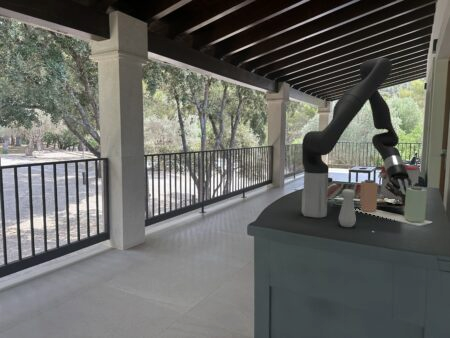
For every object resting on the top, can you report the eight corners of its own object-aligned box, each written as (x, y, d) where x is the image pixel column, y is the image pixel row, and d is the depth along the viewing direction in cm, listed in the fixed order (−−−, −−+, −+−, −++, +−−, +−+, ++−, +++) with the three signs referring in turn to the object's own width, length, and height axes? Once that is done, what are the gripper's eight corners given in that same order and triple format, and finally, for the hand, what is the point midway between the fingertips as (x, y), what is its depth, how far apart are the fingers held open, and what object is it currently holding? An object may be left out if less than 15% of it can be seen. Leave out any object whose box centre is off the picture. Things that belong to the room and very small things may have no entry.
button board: (352, 210, 145) (352, 209, 145) (365, 208, 150) (365, 207, 150) (419, 226, 122) (419, 225, 122) (432, 222, 126) (432, 221, 126)
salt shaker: (356, 228, 118) (358, 191, 117) (339, 227, 119) (341, 190, 118) (354, 224, 124) (355, 188, 122) (337, 223, 125) (339, 187, 123)
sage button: (410, 221, 125) (413, 188, 124) (404, 217, 130) (406, 185, 129) (424, 221, 125) (427, 188, 124) (417, 218, 130) (419, 186, 129)
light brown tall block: (364, 210, 141) (365, 181, 140) (359, 208, 146) (361, 179, 145) (376, 210, 141) (378, 181, 140) (371, 208, 146) (373, 179, 145)
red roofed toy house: (372, 198, 171) (374, 158, 168) (409, 200, 168) (412, 159, 166) (382, 205, 155) (384, 161, 153) (423, 207, 153) (426, 162, 151)
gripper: (382, 163, 140) (394, 198, 129) (415, 163, 140) (430, 199, 129) (376, 174, 146) (387, 209, 135) (408, 174, 145) (421, 209, 135)
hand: (408, 204), depth 132 cm, fingers closed
